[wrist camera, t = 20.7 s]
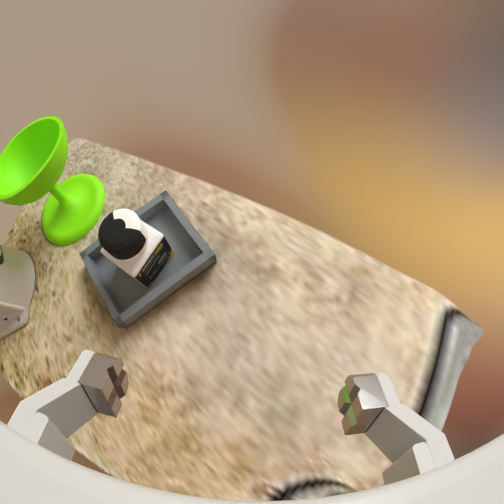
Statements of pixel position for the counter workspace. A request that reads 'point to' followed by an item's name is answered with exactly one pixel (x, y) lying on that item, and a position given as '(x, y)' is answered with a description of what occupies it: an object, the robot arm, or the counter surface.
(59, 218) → the wineglass
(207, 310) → the counter surface
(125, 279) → the parts tray
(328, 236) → the counter surface
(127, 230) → the medicine bottle
